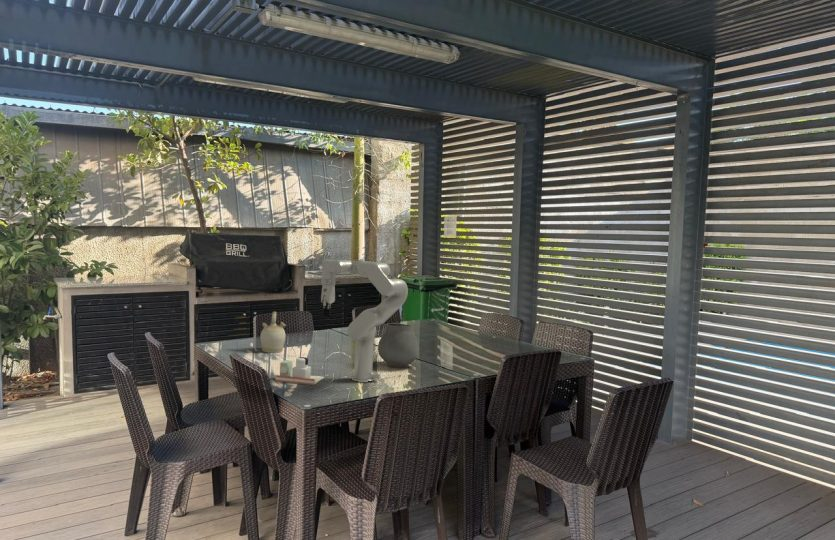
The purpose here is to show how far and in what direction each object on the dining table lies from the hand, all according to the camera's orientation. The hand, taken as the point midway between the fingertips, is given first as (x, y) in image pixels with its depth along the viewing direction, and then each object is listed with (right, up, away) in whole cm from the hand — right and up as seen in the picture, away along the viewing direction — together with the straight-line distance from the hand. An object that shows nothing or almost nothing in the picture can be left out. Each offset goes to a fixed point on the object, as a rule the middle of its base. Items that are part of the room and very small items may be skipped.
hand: (326, 315), depth 312 cm
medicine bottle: (-10, -32, -20) cm, 39 cm away
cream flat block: (-11, -32, -16) cm, 37 cm away
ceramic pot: (+38, -32, +26) cm, 56 cm away
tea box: (-18, -31, -18) cm, 40 cm away
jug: (-42, -26, +47) cm, 68 cm away
